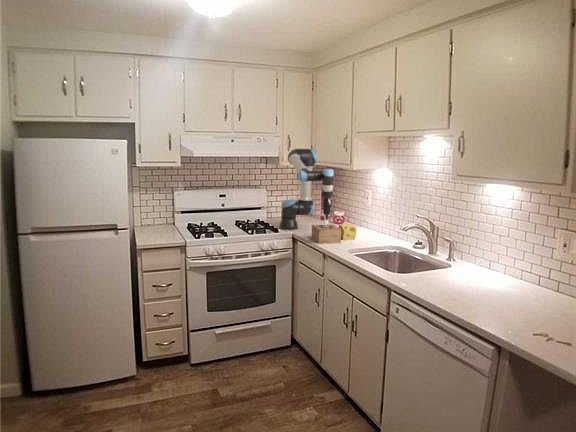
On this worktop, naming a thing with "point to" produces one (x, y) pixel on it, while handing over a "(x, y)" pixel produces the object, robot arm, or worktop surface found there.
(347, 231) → the cheese
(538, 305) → the worktop surface
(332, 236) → the socket block
